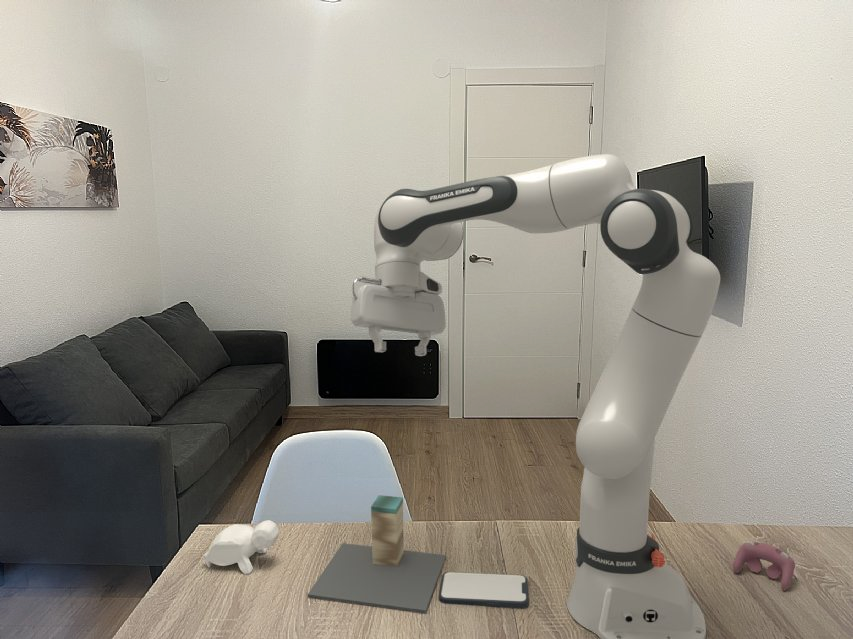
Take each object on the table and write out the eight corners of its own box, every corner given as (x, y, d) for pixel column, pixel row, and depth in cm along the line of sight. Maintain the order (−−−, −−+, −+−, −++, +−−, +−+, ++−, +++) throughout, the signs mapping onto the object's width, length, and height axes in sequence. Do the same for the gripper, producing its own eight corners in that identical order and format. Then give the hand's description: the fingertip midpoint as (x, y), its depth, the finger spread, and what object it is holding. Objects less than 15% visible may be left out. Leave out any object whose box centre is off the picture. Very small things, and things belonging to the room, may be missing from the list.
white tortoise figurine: (211, 586, 123) (278, 565, 120) (193, 548, 123) (260, 526, 120) (231, 561, 132) (293, 541, 129) (214, 526, 131) (277, 505, 128)
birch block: (403, 552, 128) (402, 497, 126) (397, 566, 123) (396, 509, 121) (380, 550, 129) (378, 495, 127) (372, 563, 124) (371, 506, 122)
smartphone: (438, 606, 113) (528, 611, 111) (437, 598, 112) (528, 603, 110) (443, 578, 121) (527, 582, 119) (442, 570, 121) (527, 574, 119)
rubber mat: (446, 557, 127) (446, 555, 127) (425, 613, 110) (425, 610, 110) (342, 545, 132) (342, 543, 132) (307, 597, 115) (307, 594, 114)
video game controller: (792, 592, 117) (799, 554, 118) (787, 592, 114) (795, 553, 115) (735, 572, 124) (743, 536, 125) (729, 571, 120) (737, 534, 122)
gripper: (361, 270, 113) (364, 346, 110) (448, 286, 126) (452, 354, 123) (343, 279, 118) (344, 352, 115) (428, 294, 131) (432, 360, 127)
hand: (401, 353), depth 119 cm, fingers open, 8 cm apart
